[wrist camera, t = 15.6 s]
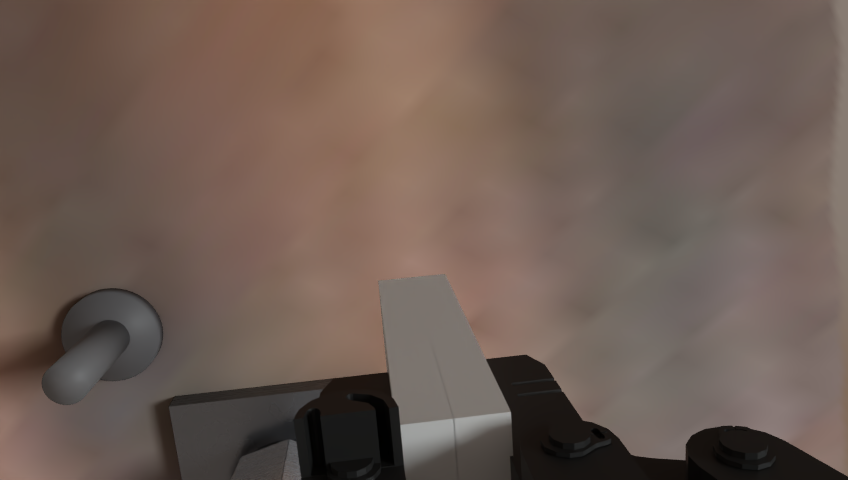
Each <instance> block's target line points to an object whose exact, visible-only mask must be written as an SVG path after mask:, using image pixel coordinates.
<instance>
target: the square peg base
mask: <svg viewBox="0 0 848 480" xmlns="http://www.w3.org/2000/svg"><path fill="white" fill-rule="evenodd" d="M331 381H332V379H325V380H317V381H308V382H299V383H290V384H281V385H272V386H263V387H255V388H246V389H237V390H228V391H219V392H210V393H201V394H193V395H184V396H175V397H174V399H173V400H172V402H171V404H170V406H169V411H170V416H171V422H172V427H173V433H174V439H175V444H176V450H177V455H178V461H179V467H180V472H181V478H182V480H231V478H232V475H233V473H234V471H235V469H236V467H237V464H238V462H239V460H240V458H242V456H245V455H247V454H250V453H253V452H255V451H258V450H261V449H263V448H266V447H269V446H271V445H274V444H277V443H279V442H282V441H285V440H287V439H288V440H293V441H296V436H295V428H294V421H293V419H294V417H295V415H296V414H297V412H298V410H299V409H300V408H302V407H303V406H304V405H306V404H307V403H308V402H310V401H311V400H314V399H316V398H319V397H320V392H321V391H322V390H323V389H324V388H325V387H326V386H327V385H328V384H329V383H330V382H331Z"/></svg>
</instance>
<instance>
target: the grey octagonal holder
mask: <svg viewBox="0 0 848 480" xmlns="http://www.w3.org/2000/svg"><path fill="white" fill-rule="evenodd" d="M231 480H301V473H300V466H299V458H298V451H297V443H296V441H293V440H288V439H287V440H285V441H282V442H279V443H277V444H274V445H271V446H269V447H266V448H263V449H261V450H258V451H255V452H253V453H250V454H247V455H245V456H242V458H240V460H239V462H238V464H237V467H236V469H235V471H234V473H233V475H232V478H231Z"/></svg>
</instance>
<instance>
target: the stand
mask: <svg viewBox="0 0 848 480" xmlns="http://www.w3.org/2000/svg"><path fill="white" fill-rule="evenodd" d="M61 338H62V344H63V347H64V350H65V352H66V353H65V354H64V355H63V356H62V357H61V358H60V359H59V360H58V361H57V362H55V363H54V364H53V365H52V366H51V367H50V368H49V369H48V370H47V371H46V372H45V374H44V375H43V378H42V388H43V391H44V393H45V394H46V396H47V397H48V398H49V399H51V400H52V401H54V402H56V403H58V404H62V405H71V404H75V403H77V402H79V401H81V400H82V399H83V398H84V397H85V396H86V394H87V393H88V392H89V391H90V390H91V389H92V388H93V386H94V385H95V384H96V383H97V382H98V381H99V379H101V380H106V381H120V380H125V379H129V378H132V377H134V376H136V375H138V374H139V373H141V372H142V371H144V370H145V369H146V368H147V367H148V366H149V365H150V364H151V362H152V361H153V360H154V358H155V357H156V355H157V354H158V352H159V350H160V348H161V345H162V340H163V327H162V323H161V320H160V318H159V315H158V314H157V312H156V310H155V309H154V308H153V306H152V305H151V304H150V303H149V302H148V301H146V300H145V299H144V298H142V297H141V296H139V295H137V294H135V293H133V292H130V291H127V290H123V289H116V288H110V289H102V290H98V291H95V292H93V293H90V294H89V295H87V296H85V297H84V298H83V299H81V300H80V301H79V302H78V303H76V304H75V305H74V306H73V307H72V308H71V309H70V310H69V312H68V313H67V315H66V317H65V319H64V322H63V325H62V331H61Z"/></svg>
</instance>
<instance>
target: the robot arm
mask: <svg viewBox="0 0 848 480" xmlns="http://www.w3.org/2000/svg"><path fill="white" fill-rule="evenodd" d="M378 282H379V292H380V303H381V313H382V324H383V334H384V344H385V355H386V365H387V373H379V374H370V375H361V376H352V377H343V378H334V379H332V381H331V382H330V383H329V384H328V385H327V386H326V387H325V388H324V389H323V390H322V391H321V392H320V397H319V398H316V399H314V400H311V401H310V402H308V403H307V404H306V405H304V406H303V407H302V408H300V409H299V410H298V412H297V414H296V415H295V417H294V419H293V421H294V428H295V436H296V443H297V451H298V458H299V466H300V473H301V480H848V477H847V476H846V475H844V474H842V473H840V472H839V471H837V470H835V469H833V468H832V467H830V466H828V465H826V464H825V463H823V462H821V461H819V460H818V459H816V458H814V457H812V456H811V455H809V454H807V453H805V452H803V451H802V450H800V449H798V448H796V447H795V446H793V445H791V444H789V443H788V442H786V441H784V440H782V439H779V438H777V437H775V436H772V435H770V434H768V433H766V432H761V431H757V430H752V429H750V428H748V427H742V426H735V427H733V426H721V427H716V428H709V429H704V430H702V431H700V432H698V433H696V434H694V435H692V436H691V437H690V439H689V440H688V442H687V444H686V460H670V459H655V458H646V457H638V456H633V455H631V454H630V453H629V452H628V450H627V449H626V447H625V446H624V445H623V443H622V442H621V441H620V439H619V438H618V437H617V436H616V435H614V434H613V433H612V432H611V431H610V430H609V429H607V428H604V427H602V426H600V425H597V424H595V423H592V422H586V421H583V420H582V419H581V417H580V416H579V414H578V413H577V411H576V410H575V409H574V407H573V406H572V404H571V403H570V401H569V400H568V398H567V397H566V395H565V394H564V392H562V391H561V388H560V386H559V385H558V383H557V382H556V381H554V378H553V376H552V375H551V373H550V372H549V370H548V369H547V367H546V366H545V365H544V364H542V363H540V362H539V361H537V360H535V359H533V358H531V357H529V356H527V355H519V356H510V357H501V358H493V359H485V357H484V354H483V352H482V350H481V348H480V346H479V344H478V342H477V340H476V338H475V336H474V333H473V331H472V329H471V327H470V325H469V323H468V321H467V319H466V317H465V315H464V313H463V310H462V308H461V306H460V304H459V302H458V300H457V298H456V296H455V294H454V292H453V290H452V287H451V285H450V283H449V281H448V279H447V277H446V275H445V274H440V275H430V276H421V277H411V278H401V279H391V280H381V281H378Z"/></svg>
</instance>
